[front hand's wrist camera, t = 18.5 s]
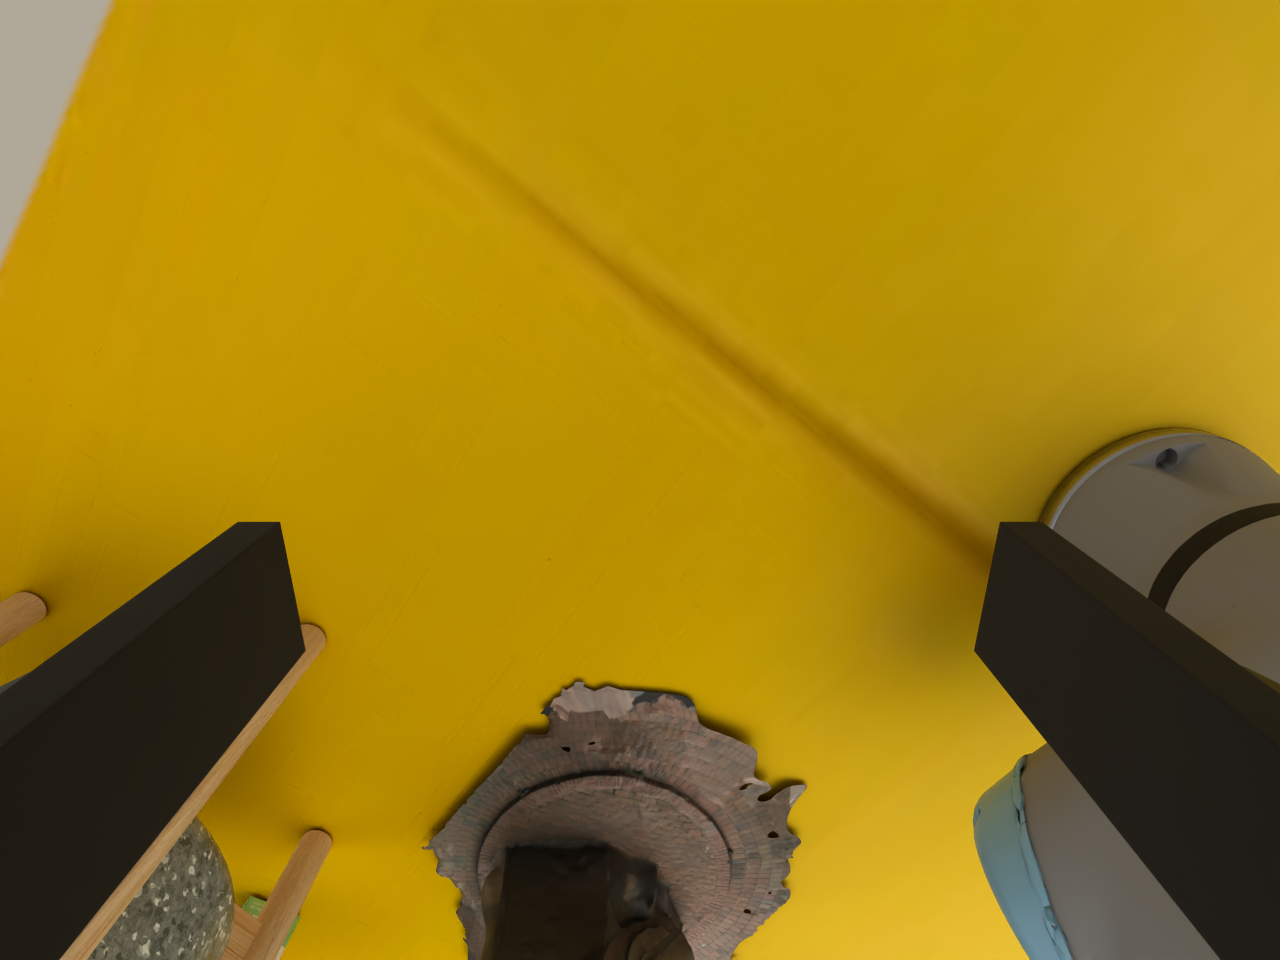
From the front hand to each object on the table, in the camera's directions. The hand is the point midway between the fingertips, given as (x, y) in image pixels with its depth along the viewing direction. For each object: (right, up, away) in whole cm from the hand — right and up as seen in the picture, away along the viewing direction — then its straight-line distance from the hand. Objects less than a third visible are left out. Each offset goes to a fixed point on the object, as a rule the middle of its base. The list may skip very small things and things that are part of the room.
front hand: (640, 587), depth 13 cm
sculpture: (-2, -30, +45) cm, 54 cm away
